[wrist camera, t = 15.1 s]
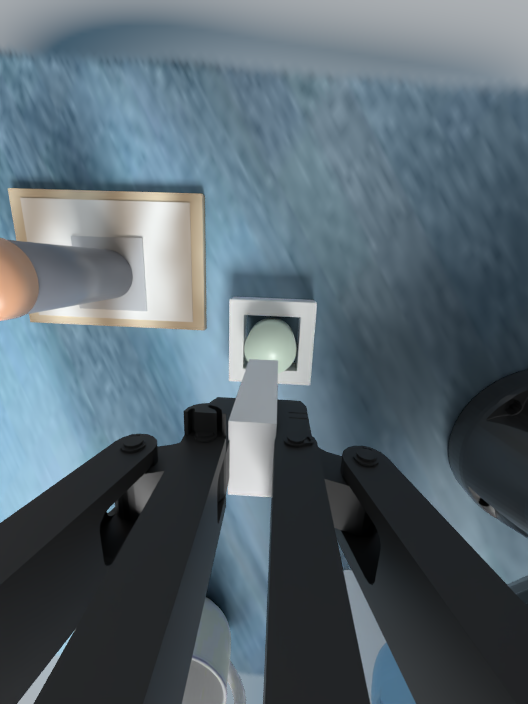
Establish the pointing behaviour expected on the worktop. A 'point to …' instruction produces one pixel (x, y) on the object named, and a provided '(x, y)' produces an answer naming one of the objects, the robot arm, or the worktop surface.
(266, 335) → the button
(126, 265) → the marker
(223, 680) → the teacup
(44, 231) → the wooden picture frame
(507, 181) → the worktop surface
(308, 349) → the button housing
